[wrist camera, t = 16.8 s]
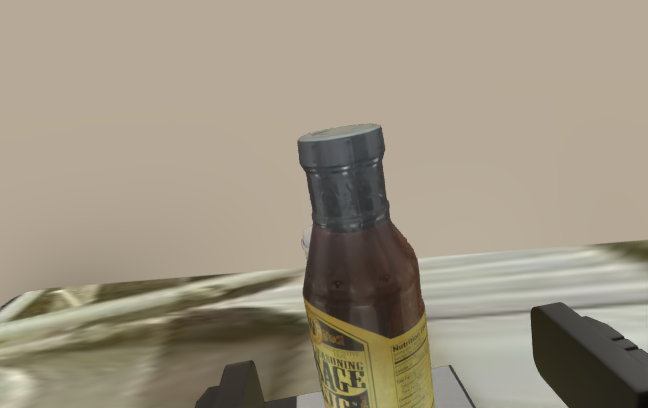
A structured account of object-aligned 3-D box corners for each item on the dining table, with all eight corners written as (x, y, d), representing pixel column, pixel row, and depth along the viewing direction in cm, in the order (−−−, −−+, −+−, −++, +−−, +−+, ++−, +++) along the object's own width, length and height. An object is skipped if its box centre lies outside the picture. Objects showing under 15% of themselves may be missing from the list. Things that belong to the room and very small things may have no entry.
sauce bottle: (322, 446, 26) (254, 141, 21) (403, 405, 28) (358, 119, 23) (371, 539, 20) (292, 145, 15) (470, 479, 22) (428, 114, 17)
